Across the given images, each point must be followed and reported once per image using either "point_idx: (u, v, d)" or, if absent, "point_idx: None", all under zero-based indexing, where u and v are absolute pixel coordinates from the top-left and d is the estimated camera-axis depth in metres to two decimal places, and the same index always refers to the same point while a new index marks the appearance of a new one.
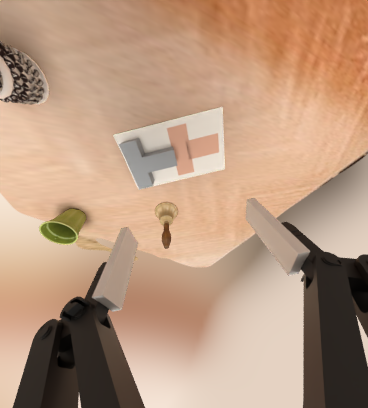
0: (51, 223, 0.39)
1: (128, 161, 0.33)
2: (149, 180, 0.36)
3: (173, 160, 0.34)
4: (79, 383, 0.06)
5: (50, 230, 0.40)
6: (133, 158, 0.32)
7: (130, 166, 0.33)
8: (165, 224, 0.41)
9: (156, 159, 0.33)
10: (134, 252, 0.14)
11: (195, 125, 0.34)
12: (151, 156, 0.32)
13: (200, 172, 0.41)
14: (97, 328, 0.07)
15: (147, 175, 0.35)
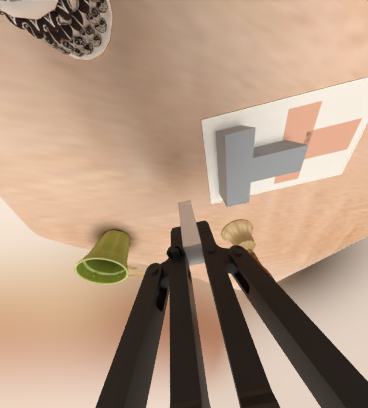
0: None
1: (228, 164, 0.20)
2: (247, 193, 0.23)
3: (298, 162, 0.20)
4: (170, 311, 0.07)
5: (87, 265, 0.27)
6: (238, 159, 0.19)
7: (228, 172, 0.20)
8: (252, 255, 0.28)
9: (274, 161, 0.20)
10: None
11: (333, 105, 0.21)
12: (268, 156, 0.19)
13: (306, 178, 0.28)
14: (187, 280, 0.09)
15: (248, 186, 0.22)
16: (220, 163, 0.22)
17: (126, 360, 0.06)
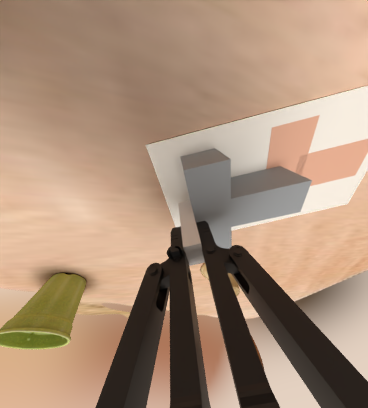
0: None
1: (196, 207, 0.13)
2: (228, 239, 0.17)
3: (297, 202, 0.14)
4: (170, 311, 0.07)
5: None
6: (210, 200, 0.13)
7: (197, 217, 0.14)
8: None
9: (262, 201, 0.14)
10: None
11: (335, 120, 0.14)
12: (253, 195, 0.13)
13: (301, 210, 0.21)
14: (187, 280, 0.09)
15: (228, 231, 0.16)
16: None
17: (126, 360, 0.06)
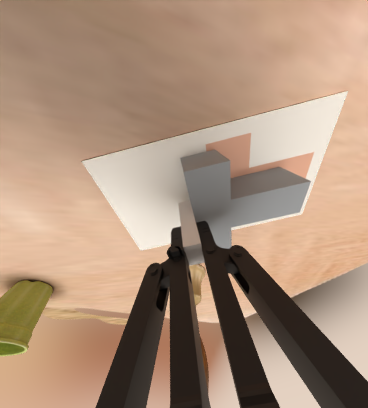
0: None
1: (196, 208, 0.13)
2: (228, 240, 0.17)
3: (296, 203, 0.14)
4: (170, 311, 0.07)
5: None
6: (209, 201, 0.13)
7: (197, 217, 0.14)
8: None
9: (262, 202, 0.14)
10: None
11: (269, 137, 0.15)
12: (253, 196, 0.13)
13: None
14: (187, 280, 0.09)
15: (228, 232, 0.16)
16: None
17: (126, 360, 0.06)
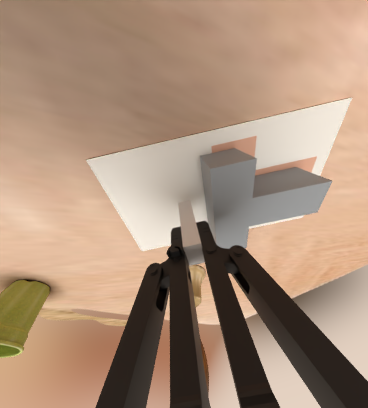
0: None
1: (217, 206, 0.13)
2: (244, 239, 0.17)
3: (315, 202, 0.14)
4: (170, 311, 0.07)
5: None
6: (231, 199, 0.13)
7: (217, 216, 0.14)
8: None
9: (282, 201, 0.14)
10: None
11: (274, 141, 0.15)
12: (274, 195, 0.13)
13: None
14: (187, 280, 0.09)
15: (245, 231, 0.16)
16: (207, 198, 0.16)
17: (126, 360, 0.06)
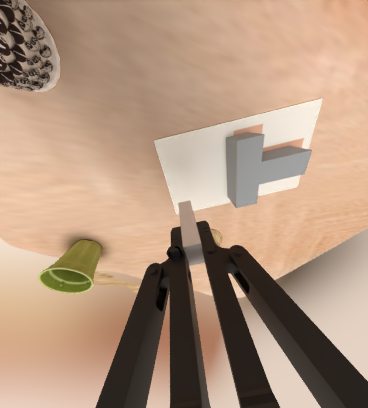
0: None
1: (239, 167, 0.21)
2: (255, 195, 0.24)
3: (302, 166, 0.22)
4: (170, 311, 0.07)
5: (53, 274, 0.28)
6: (248, 163, 0.21)
7: (238, 175, 0.22)
8: None
9: (280, 165, 0.21)
10: None
11: (274, 127, 0.23)
12: (275, 160, 0.21)
13: (264, 191, 0.29)
14: (187, 280, 0.09)
15: (256, 188, 0.23)
16: (230, 167, 0.24)
17: (126, 360, 0.06)
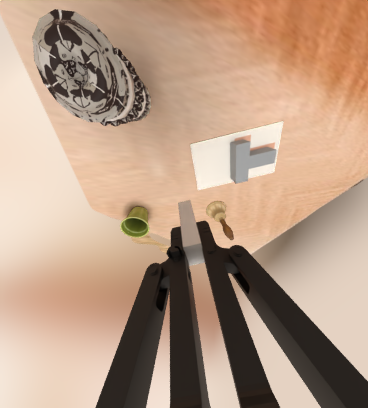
0: (126, 219, 0.46)
1: (237, 159, 0.39)
2: (247, 175, 0.42)
3: (272, 158, 0.40)
4: (170, 311, 0.07)
5: (125, 225, 0.46)
6: (242, 156, 0.38)
7: (237, 163, 0.39)
8: (222, 220, 0.47)
9: (260, 157, 0.39)
10: None
11: (257, 136, 0.40)
12: (257, 155, 0.39)
13: (253, 175, 0.47)
14: (187, 280, 0.09)
15: (247, 171, 0.41)
16: (232, 159, 0.41)
17: (126, 360, 0.06)
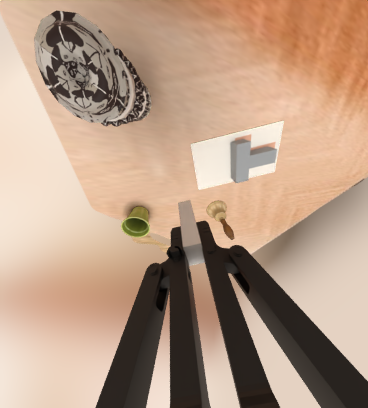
0: (126, 219, 0.46)
1: (238, 159, 0.39)
2: (247, 175, 0.42)
3: (273, 158, 0.40)
4: (170, 311, 0.07)
5: (125, 225, 0.46)
6: (243, 156, 0.38)
7: (237, 163, 0.39)
8: (222, 219, 0.48)
9: (260, 157, 0.39)
10: None
11: (258, 136, 0.40)
12: (257, 154, 0.39)
13: (253, 174, 0.47)
14: (187, 280, 0.09)
15: (247, 171, 0.41)
16: (232, 158, 0.41)
17: (126, 360, 0.06)
